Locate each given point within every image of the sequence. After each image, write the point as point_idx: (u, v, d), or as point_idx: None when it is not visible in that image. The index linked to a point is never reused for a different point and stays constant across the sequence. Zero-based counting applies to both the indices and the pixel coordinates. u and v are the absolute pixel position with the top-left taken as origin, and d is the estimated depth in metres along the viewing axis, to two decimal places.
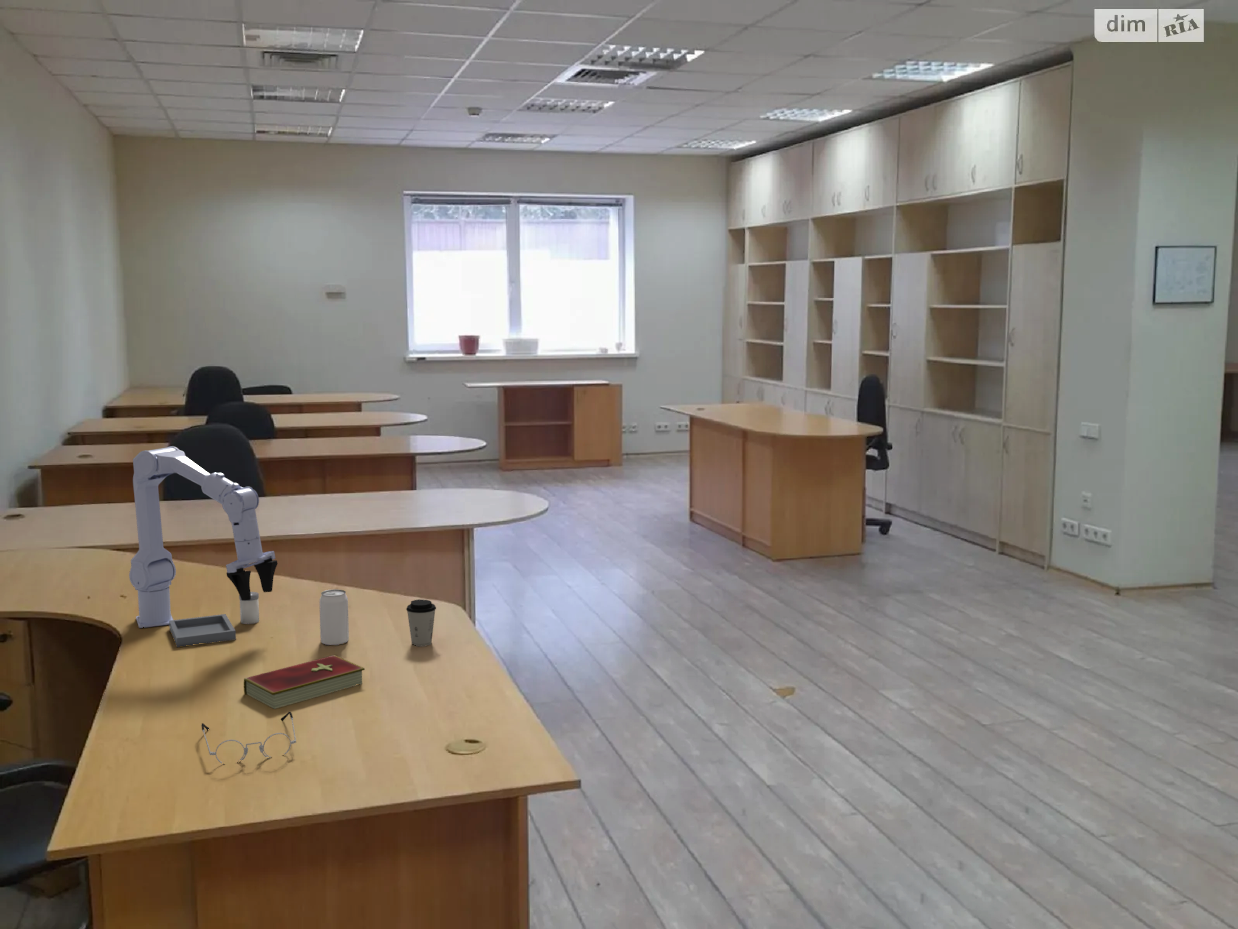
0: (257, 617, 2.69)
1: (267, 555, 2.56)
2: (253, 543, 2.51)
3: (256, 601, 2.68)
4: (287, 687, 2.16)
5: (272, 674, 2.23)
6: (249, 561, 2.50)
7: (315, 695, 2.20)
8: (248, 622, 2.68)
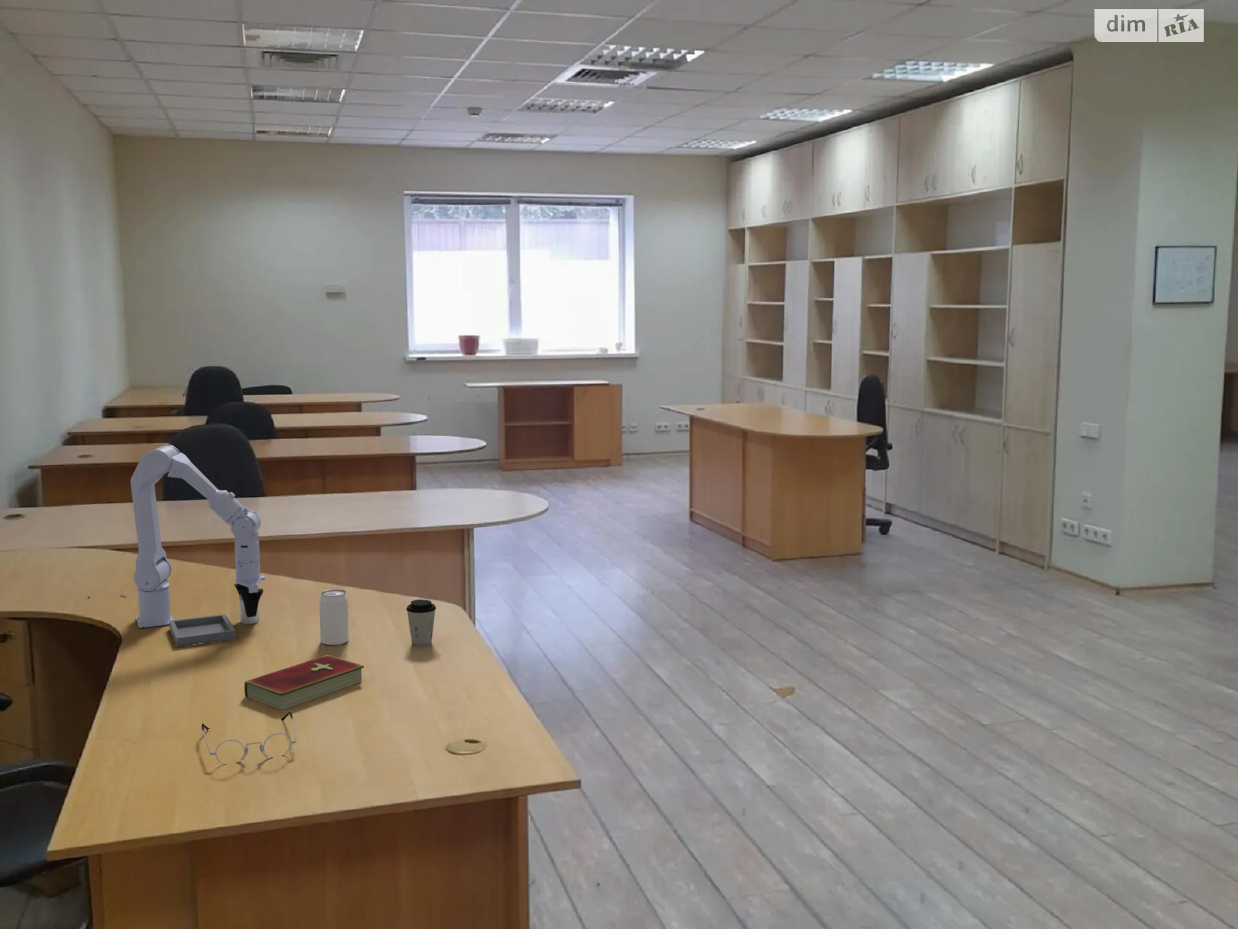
0: (257, 617, 2.69)
1: None
2: (259, 564, 2.68)
3: None
4: (293, 687, 2.16)
5: (272, 676, 2.22)
6: (259, 581, 2.66)
7: (319, 694, 2.20)
8: (248, 622, 2.68)
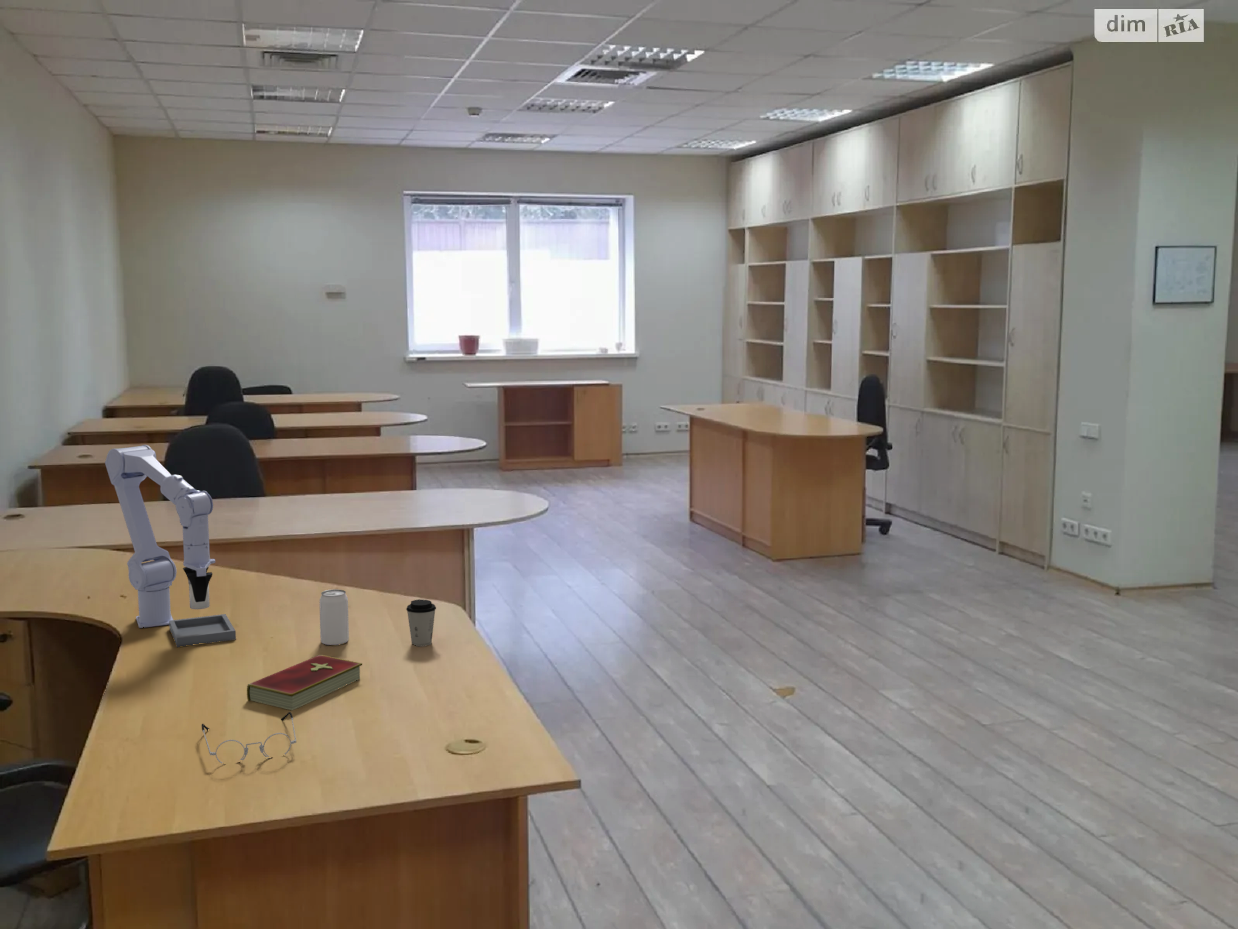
0: (207, 602, 2.57)
1: None
2: (208, 546, 2.56)
3: None
4: (300, 687, 2.16)
5: (274, 678, 2.21)
6: (208, 564, 2.54)
7: (324, 693, 2.21)
8: (198, 607, 2.56)
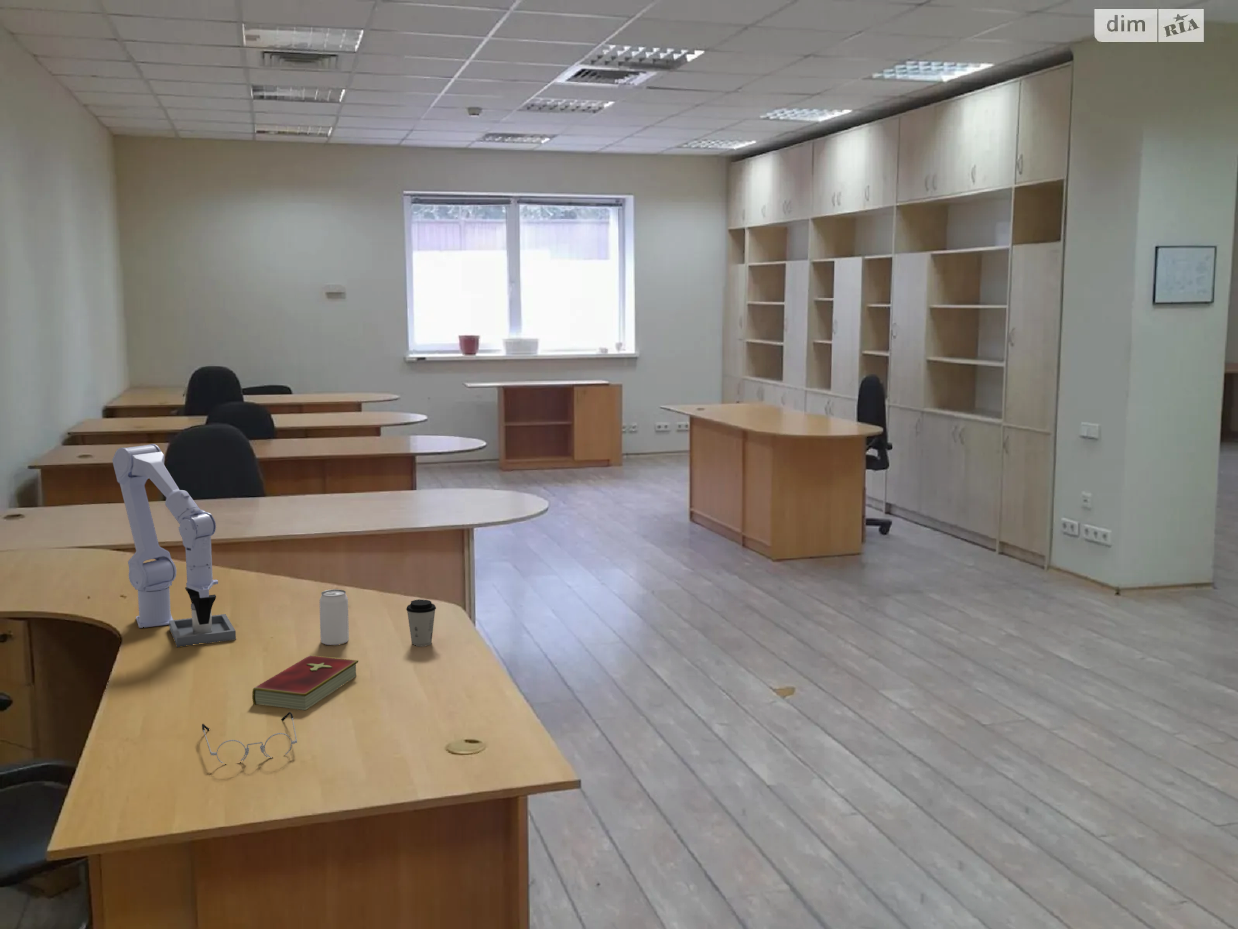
0: (210, 627, 2.58)
1: None
2: (211, 567, 2.57)
3: None
4: (310, 687, 2.16)
5: (276, 680, 2.20)
6: (211, 585, 2.55)
7: (329, 692, 2.22)
8: (201, 633, 2.57)
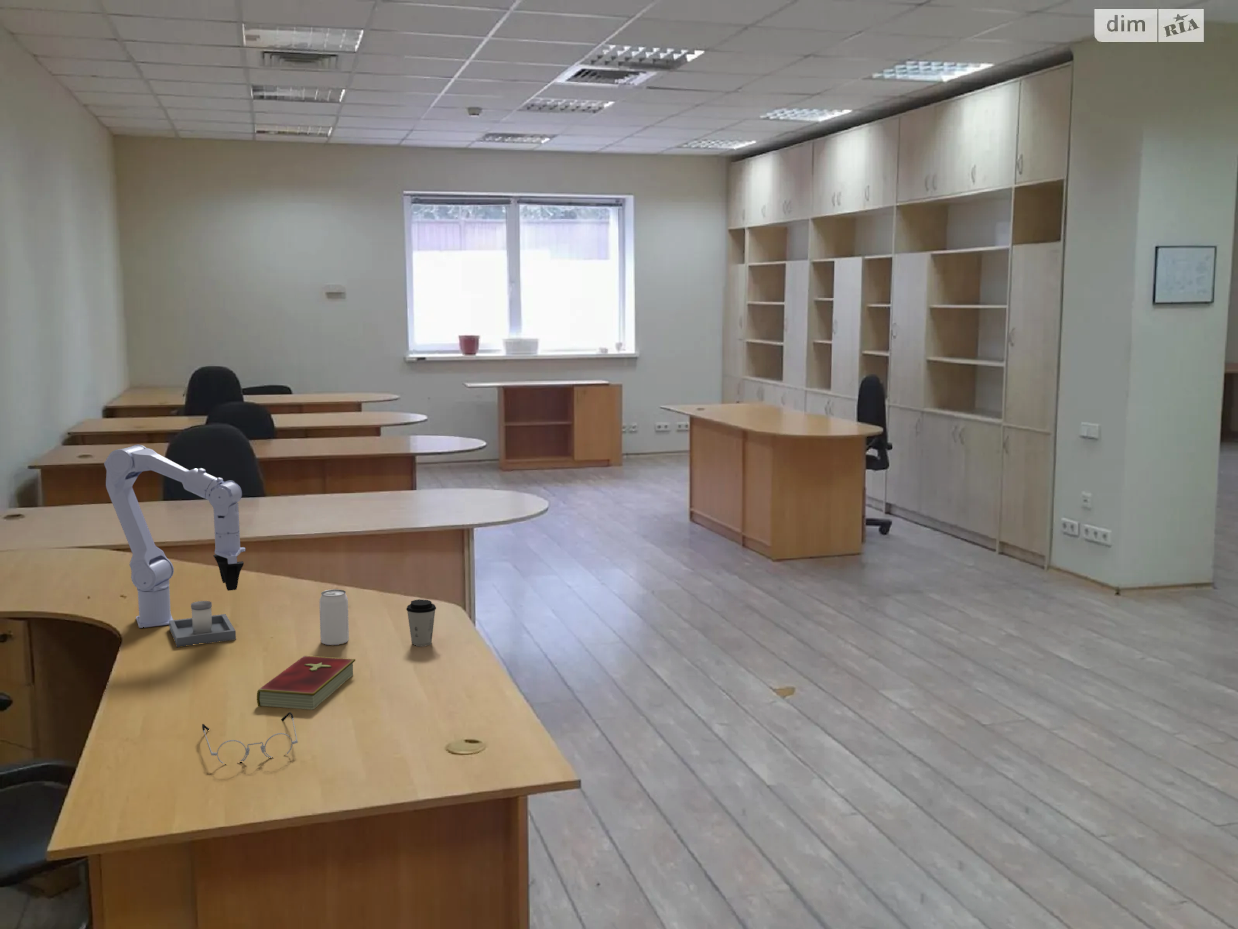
0: (210, 627, 2.58)
1: None
2: (239, 535, 2.62)
3: (209, 610, 2.57)
4: (316, 686, 2.16)
5: (279, 681, 2.19)
6: (239, 552, 2.61)
7: (331, 691, 2.22)
8: (201, 632, 2.57)
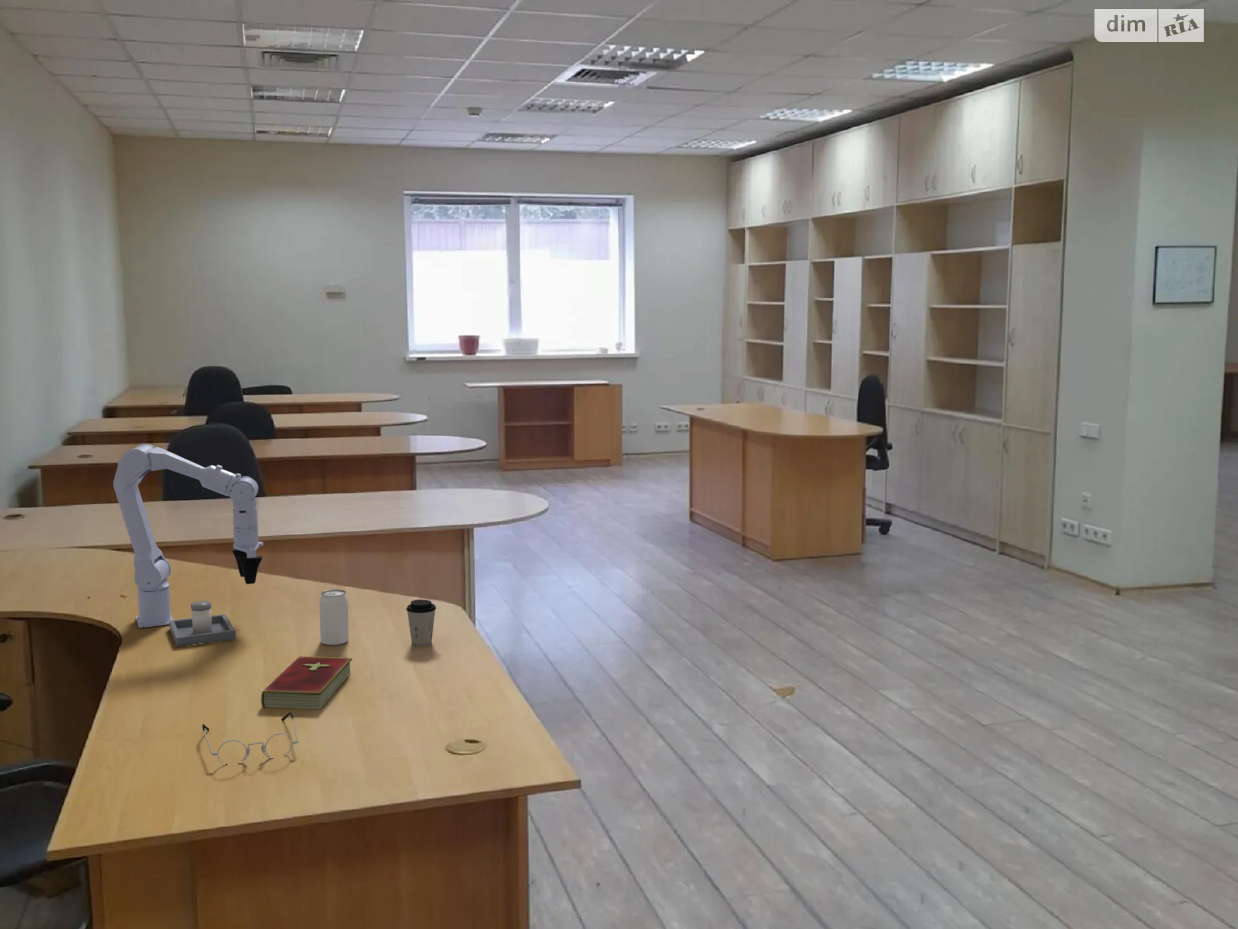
0: (210, 627, 2.58)
1: None
2: (257, 530, 2.67)
3: (208, 611, 2.57)
4: (321, 686, 2.17)
5: (281, 682, 2.19)
6: (257, 547, 2.66)
7: (334, 690, 2.23)
8: (200, 633, 2.57)
